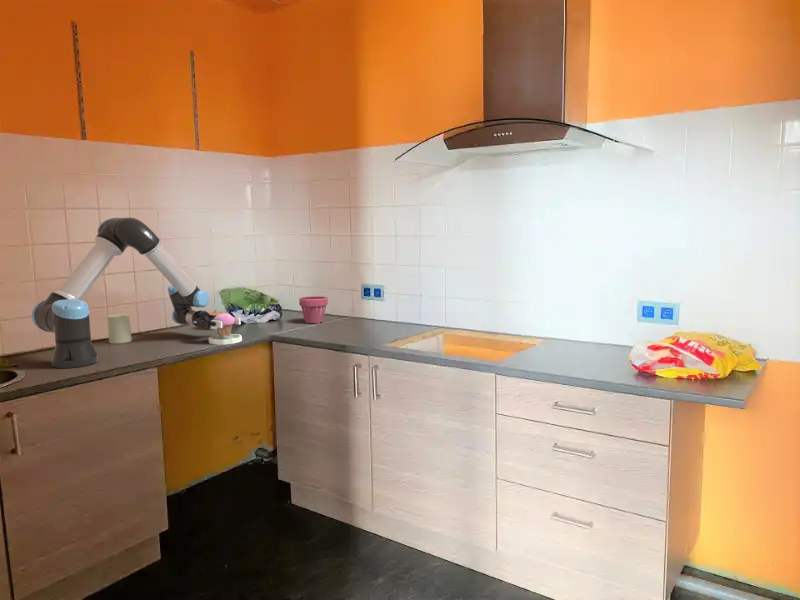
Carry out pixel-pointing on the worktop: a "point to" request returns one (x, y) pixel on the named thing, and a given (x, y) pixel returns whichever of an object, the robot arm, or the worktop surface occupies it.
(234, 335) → the dish
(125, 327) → the can
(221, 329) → the cupcake
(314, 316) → the plant pot
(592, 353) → the worktop surface
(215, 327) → the lidded jar
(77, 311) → the robot arm
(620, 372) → the worktop surface
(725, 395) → the worktop surface
